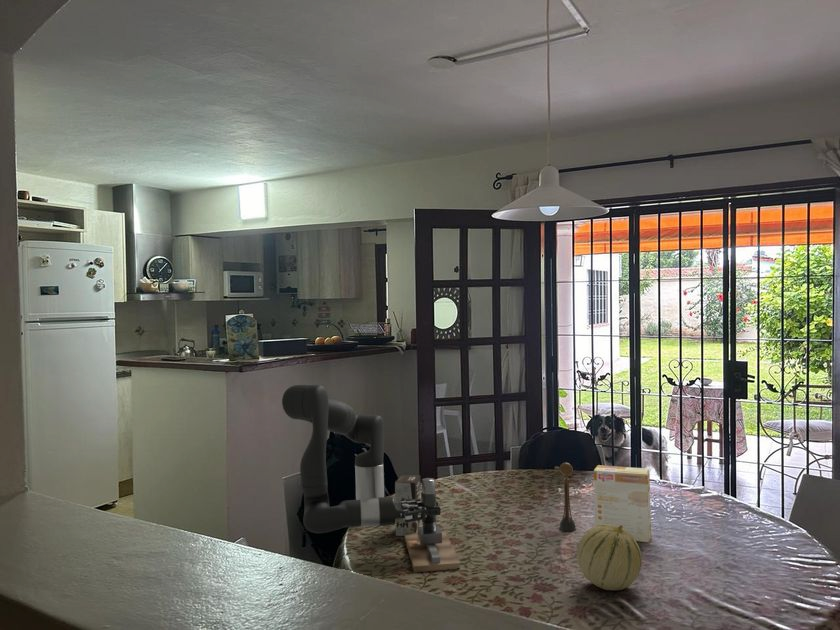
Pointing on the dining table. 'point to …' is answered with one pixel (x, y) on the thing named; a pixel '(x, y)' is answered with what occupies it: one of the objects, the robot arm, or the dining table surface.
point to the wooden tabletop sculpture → (566, 499)
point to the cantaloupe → (609, 557)
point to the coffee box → (408, 490)
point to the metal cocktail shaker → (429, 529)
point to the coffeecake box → (623, 499)
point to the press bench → (425, 558)
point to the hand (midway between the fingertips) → (438, 507)
